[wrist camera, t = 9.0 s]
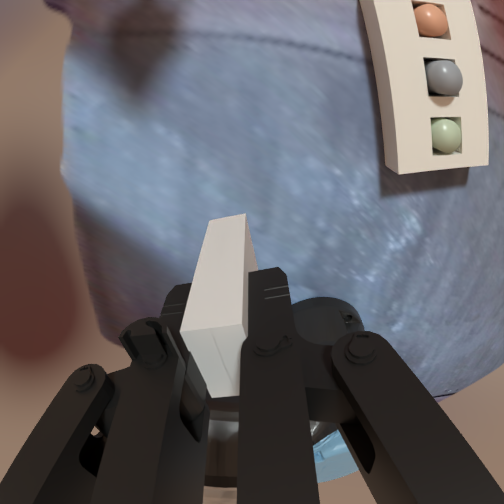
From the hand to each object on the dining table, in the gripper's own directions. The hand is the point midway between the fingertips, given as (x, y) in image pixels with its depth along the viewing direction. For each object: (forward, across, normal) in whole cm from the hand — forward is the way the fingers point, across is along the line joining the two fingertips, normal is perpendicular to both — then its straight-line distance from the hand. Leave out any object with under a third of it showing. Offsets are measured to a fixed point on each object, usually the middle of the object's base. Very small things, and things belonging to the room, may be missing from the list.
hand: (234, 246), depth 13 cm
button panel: (+24, -24, -6) cm, 34 cm away
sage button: (+24, -24, +1) cm, 34 cm away
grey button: (+23, -24, -6) cm, 33 cm away
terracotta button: (+24, -23, -13) cm, 36 cm away
